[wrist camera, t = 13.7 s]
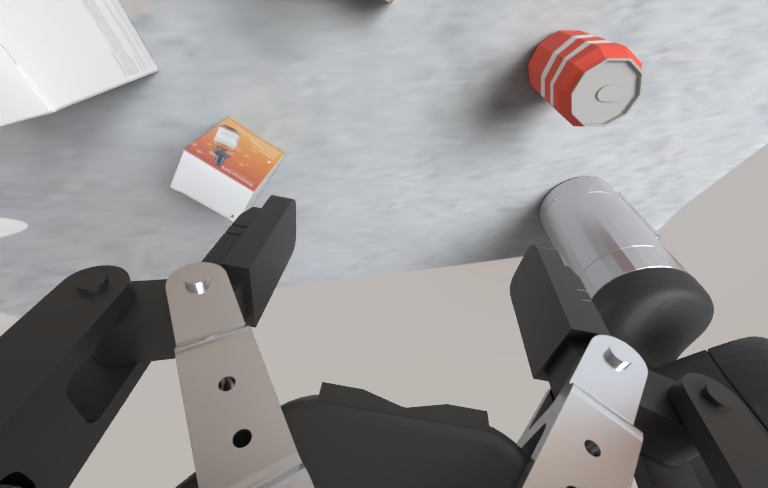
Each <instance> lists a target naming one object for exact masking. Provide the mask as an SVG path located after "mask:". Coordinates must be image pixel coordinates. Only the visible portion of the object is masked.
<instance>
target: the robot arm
mask: <svg viewBox="0 0 768 488" xmlns="http://www.w3.org/2000/svg"><path fill="white" fill-rule="evenodd" d="M539 215H540V220H541V223H542V225H543V227H544V229H545V231H546V233H547V235H548V237H549V239H550V241H551V243H552V245H553V247H554V249H553V248H548V247H543V246H537V245H531V246H530V247H529V248H528V250H527V251H526V253H525V255H524V257H523V259H522V261H521V263H520V265H519V266H518V268H517V270H516V273H515V274H514V276H513V278H512V281H511V285H510V296H511V299H512V303H513V306H514V310H515V314H516V317H517V321H518V324H519V328H520V332H521V336H522V339H523V343H524V347H525V350H526V353H527V357H528V361H529V365H530V368H531V372H532V375H533V378H534V379H539V380H545V381H549V383H550V386H551V388H550V389H549V390H548V391H547V392H546V394H545V396H544V397H543V399H542V401H541V403H540V404H539V406H538V408H537V410H536V411H535V413H534V415H533V417H532V419H531V420H530V422H529V424H528V426H527V427H526V429H525V431H524V433H523V434H522V436H521V437H520V439H519V440H518V442H517V443H515V442H514V441H512V440H511V439H510V438H509V437H507V436H506V435H504V434H503V433H501V432H500V431H498V430H496V429H495V428H493V427H491V426H489V422H488V415H487V411H482V410H476V409H471V408H465V407H459V406H454V405H448V404H444V405H433V406H422V407H411V408H405V407H401V406H399V405H396V404H394V403H392V402H390V401H388V400H386V399H383V398H381V397H379V396H377V395H374V394H372V393H370V392H368V391H365V390H363V389H358V388H351V387H346V386H341V385H335V384H330V383H324V382H322V386H321V390H320V394H319V395H311V396H306V397H301V398H298V399H295V400H292V401H290V402H287V403H285V404H283V405H282V406H280V404H279V401H278V399H277V396H276V393H275V391H274V388H273V385H272V383H271V380H270V377H269V375H268V372H267V369H266V367H265V364H264V361H263V359H262V356H261V353H260V351H259V348H258V346H257V343H256V340H255V338H254V335H253V332H252V330H251V328H250V327H256V326H257V323H258V322H259V320H260V318H261V316H262V313H263V312H264V309H265V308H266V306H267V303H268V302H269V300H270V298H271V295H272V293H273V291H274V289H275V287H276V285H277V283H278V281H279V279H280V277H281V275H282V273H283V271H284V269H285V267H286V265H287V263H288V261H289V259H290V257H291V255H292V253H293V250H294V246H295V240H296V202H295V200H294V199H290V198H284V197H279V196H274V195H271V196H270V197H269V199H268V200H267V201H266V203H265V204H264V205H263V207H262V208H257V207H252V208H250V209H248V210H247V211H245V212H243V213H241V214H240V215H239V216H238V217H237V219H236V220H235V221H234V222H233V224H232V226H230V227H229V228H228V230H227V231H226V234H224V235H223V236H222V237H221V238H220V240H219V241H218V242H217V243H216V244H215V246H214V247H213V248H212V249H211V251H210V252H209V253H208V254H207V256H206V257H205V258H204V259H203V260H202V262H198V263H192V264H189V265H186V266H183V267H181V268H179V269H177V270H176V271H174V272H173V273H172V274H171V275H170V276H169V278H168V279H164V280H148V281H131V280H130V277H129V275H128V273H127V272H126V271H125V270H124V269H122V268H120V267H116V266H108V265H106V266H95V267H91V268H87V269H84V270H81V271H78V272H76V273H74V274H72V275H70V276H69V277H67V278H66V279H65V280H63V281H62V282H61V283H60V284H59V285H58V286H56V287H55V288H54V289H53V290H52V291H51V292H50V293H49V294H48V295H46V296H45V297H44V298H43V299H42V300H41V301H40V302H39V303H37V304H36V305H35V306H34V307H33V308H32V309H31V310H30V311H28V312H27V313H26V314H25V315H24V316H23V317H22V318H21V319H19V320H18V321H17V322H16V323H15V324H14V325H13V326H12V327H11V328H9V329H8V330H7V331H6V332H5V333H4V334H3V335H2V336H1V337H0V488H69V487H70V485H71V483H72V482H73V480H74V479H75V477H76V476H77V474H78V473H79V471H80V470H81V468H82V467H83V465H84V464H85V462H86V461H87V459H88V457H89V456H90V454H91V453H92V451H93V450H94V448H95V447H96V445H97V444H98V442H99V441H100V439H101V438H102V436H103V434H104V433H105V431H106V430H107V428H108V427H109V425H110V424H111V422H112V421H113V419H114V418H115V416H116V415H117V413H118V411H119V410H120V408H121V407H122V405H123V404H124V402H125V401H126V399H127V398H128V396H129V394H130V393H131V392H132V390H133V388H134V387H135V385H136V384H137V382H138V380H139V379H140V378H141V376H142V375H143V373H144V371H145V370H146V369H147V367H148V365H149V364H150V362H151V361H156V360H165V359H173V358H176V363H177V369H178V375H179V380H180V386H181V391H182V397H183V403H184V408H185V414H186V419H187V424H188V430H189V436H190V442H191V448H192V453H193V459H194V464H195V470H196V472H194V473H193V474H192V475H191V476H189V477H188V478H187V479H186V480H184V481H183V482H182V483H181V484H179V485H178V486H177V487H176V488H631V485H632V481H633V477H635V480H636V483H637V486H638V488H768V339H766V338H762V337H747V338H742V339H738V340H734V341H731V342H728V343H725V344H722V345H719V346H715V347H712V348H710V349H708V352H707V351H706V350H704V351H701V352H698V353H695V354H692V355H690V356H687V357H684V358H681V359H678V360H677V358H678V357H679V356H680V354H681V353H682V352H683V351H684V350H685V349H686V348H687V347H688V346H689V345H690V344H691V343H692V342H694V341H695V340H696V339H697V338H698V337H699V336H700V335H701V334H702V333H703V332H704V331H705V330H706V329H707V327H708V325H709V324H710V322H711V320H712V317H713V313H714V307H713V303H712V300H711V298H710V296H709V295H708V293H707V292H706V291H705V289H703V287H702V286H701V285H700V284H699V283H698V282H697V281H696V280H695V279H694V277H692V276H691V275H690V273H688V271H687V270H686V269H685V268H684V267H683V266H682V265H681V264H680V263H679V261H678V260H677V259H676V258H675V257H674V256H673V255H672V254H671V253H670V252H669V251H668V250H667V249H666V248H665V246H664V245H663V244H662V243H661V242H660V241H659V239H660V236H659V234H658V233H657V232H656V231H655V230H654V229H653V228H652V227H651V226H650V225H649V224H648V222H647V221H646V220H645V219H644V218H643V217H642V216H641V215H640V214H639V213H638V212H637V211H636V210H635V209H634V207H633V206H632V205H631V204H630V203H629V202H628V201H627V200H626V199H625V198H624V197H623V196H622V195H621V194H620V193H616V192H615V191H614V190H613V189H612V188H611V187H610V186H609V185H608V184H607V183H606V182H605V181H603V180H601V179H598V178H594V177H578V178H573V179H571V180H568V181H565V182H563V183H561V184H560V185H558V186H557V187H555V188H554V189H553V190H551V191H550V193H549V194H548V195H547V196H546V197H545V199H544V200H543V202H542V204H541V207H540V213H539Z"/></svg>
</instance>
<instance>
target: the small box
mask: <svg viewBox="0 0 768 488" xmlns="http://www.w3.org/2000/svg"><path fill="white" fill-rule="evenodd" d="M284 155H285V154H284V153H283V152H282V151H280V150H279V149H277V148H275V147H274V146H272V145H270V144H269V143H267V142H266V141H264V140H263V139H261V138H260V137H258V136H257V135H255V134H254V133H252V132H251V131H249V130H248V129H247V128H245V127H244V126H242V125H241V124H239V123H238V122H236V121H235V120H233V119H232V118H230V117H228V118H226V119H225V120H224V121H222V122H221V123H219V124H218V125H217V126H215V127H214V128H212V129H211V130H210V131H208V132H207V133H205V134H204V135H203V136H201V137H200V138H199V139H197V140H196V141H194V142H193V143H192V144H190V145H189V146H187V147H186V148H185V149H184V150H183V153H182V155H181V158H180V160H179V163H178V166H177V168H176V171H175V173H174V176H173V179H172V181H171V184H170V187H171V188H173V189H175V190H176V191H179V192H181V193H183V194H185V195H186V196H188V197H190V198H192V199H194V200H195V201H197V202H199V203H201V204H203V205H204V206H206V207H208V208H210V209H211V210H213V211H215V212H217V213H218V214H220V215H222V216H224V217H225V218H227V219H229V220H230V221H232V222H234V221H235V220H236V219H237V217H238V216H239V215H240V214H241V213H243V212H245V211H247V210H248V209H249V208H250V206H251V205H252V204H253V202H254V201H255V200H256V198H257V197H258V196H259V194H260V193H261V192H262V191H263V189H264V188H265V187H266V185H267V184H268V183H269V181H270V179H271V177H272V176H273V174H274V172H275V171H276V169H277V167H278V165H279V164H280V162H281V160H282V159H283V157H284Z"/></svg>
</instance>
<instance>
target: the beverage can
mask: <svg viewBox="0 0 768 488" xmlns="http://www.w3.org/2000/svg"><path fill="white" fill-rule="evenodd" d="M641 65H642V63H641V62H640V61H639V60H638V59H637V58H636V57H635V56H634V54H633V53H632V52H631V51H630V50H629V49H628V48H627V47H626V46H623V45H620V44H617V43H614V42H611V41H609V40H606V39H603V38H600V37H597V36H594V35H591V34H588V33H585V32H582V31H557V32H556V33H554V34H553V35H551V36H550V37H549V38H547V39H546V40H544V41H543V42H541V43H540V44H539V45H538V47H537V48H536V50H535V52H534V54H533V56H532V58H531V60H530V62H529V64H528V72H529V84H530V85H531V86H532V87H533V88H534V89H535V90H536V91H537V92H538V93H539V94H540V95H541V96H542V97H543V98H544V99H545V100H546V101H547V102H549V103H550V104H551V105H552V106H553V107H554V108H555V109H556V110H557V111H558V112H559V113H560V114H561V115H562V116H563V117H564V118H565V119H566V120H567V121H569V122H570V123H571V124H572V125H573V126H607V125H609V124H611V123H613V122H614V121H616V120H618V119H620V118H622V117H624V116H626V115H627V114H628V113H629V111H630V110H631V109H632V107H633V106H634V105H635V103H636V102H637V101H638V99H639V98H640V97H641V95H642V89H643V79H644V72H643V71H642V70H641Z"/></svg>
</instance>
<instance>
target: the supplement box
mask: <svg viewBox="0 0 768 488" xmlns="http://www.w3.org/2000/svg"><path fill="white" fill-rule="evenodd" d="M155 72H158V68H157V66H156V64H155V63H154V61H153V59H152V58H151V56H150V54H149V52H148V51H147V49H146V47H145V46H144V44H143V42H142V40H141V39H140V37H139V35H138V34H137V32H136V30H135V29H134V27H133V25H132V23H131V22H130V20H129V18H128V17H127V15H126V13H125V12H124V10H123V8H122V6H121V5H120V3H119V1H118V0H0V127H2V126H5V125H9V124H13V123H17V122H20V121H24V120H28V119H31V118H36V117H39V116H43V115H47V114H51V113H54V112H57V111H59V110H61V109H63V108H66V107H68V106H70V105H73V104H75V103H78V102H80V101H83V100H86V99H88V98H91V97H93V96H96V95H98V94H101V93H103V92H106V91H109V90H111V89H114V88H116V87H119V86H121V85H124V84H126V83H129V82H132V81H134V80H137V79H139V78H142V77H144V76H147V75H150V74H152V73H155Z"/></svg>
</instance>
